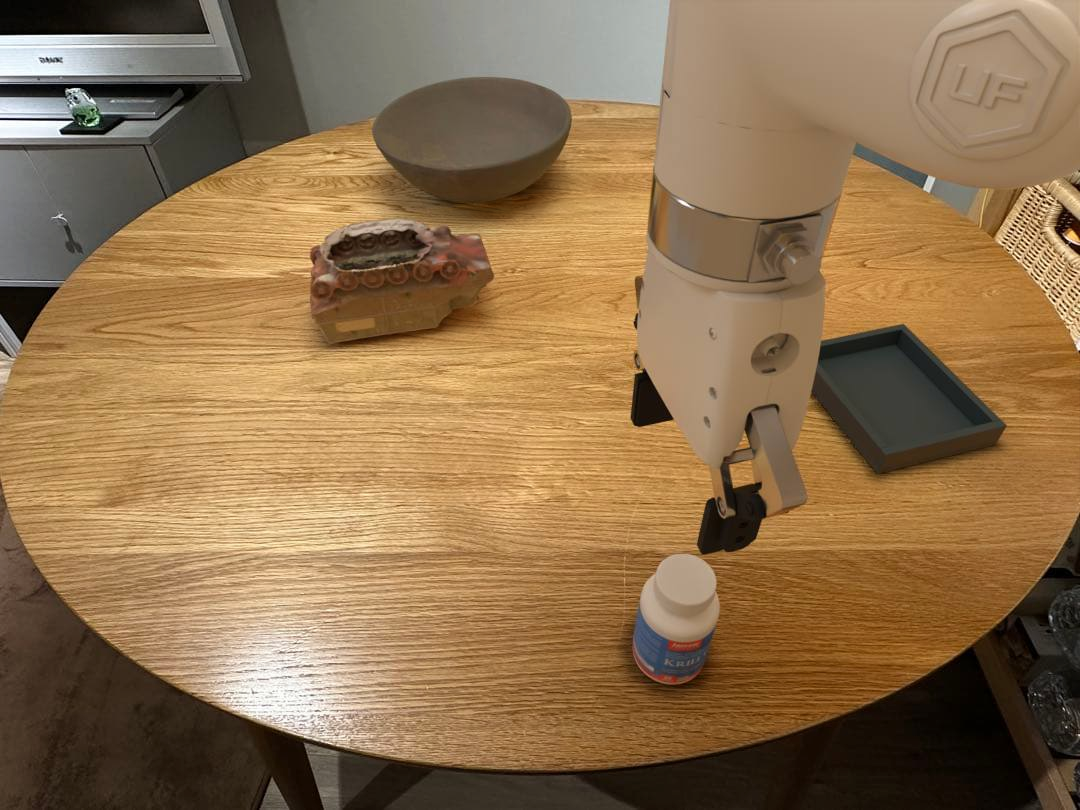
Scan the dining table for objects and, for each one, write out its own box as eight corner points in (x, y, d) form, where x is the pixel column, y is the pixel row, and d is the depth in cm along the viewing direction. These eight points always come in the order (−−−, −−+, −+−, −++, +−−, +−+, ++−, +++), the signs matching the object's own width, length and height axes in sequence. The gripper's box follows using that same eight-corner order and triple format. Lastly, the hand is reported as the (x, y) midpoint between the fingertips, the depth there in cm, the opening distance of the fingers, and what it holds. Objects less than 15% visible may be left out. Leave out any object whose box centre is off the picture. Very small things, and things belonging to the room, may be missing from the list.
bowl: (593, 218, 101) (596, 146, 94) (391, 246, 97) (379, 172, 90) (546, 133, 120) (545, 67, 113) (375, 153, 115) (363, 86, 108)
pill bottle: (660, 700, 55) (676, 630, 48) (617, 640, 58) (626, 566, 51) (721, 664, 56) (744, 591, 50) (676, 607, 60) (692, 532, 53)
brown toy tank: (323, 281, 92) (305, 209, 85) (491, 270, 93) (486, 197, 86) (312, 353, 82) (290, 277, 76) (498, 338, 84) (494, 263, 77)
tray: (995, 444, 72) (1007, 425, 70) (877, 474, 69) (885, 455, 67) (896, 342, 82) (903, 323, 81) (790, 364, 80) (795, 345, 78)
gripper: (947, 319, 27) (825, 586, 39) (729, 116, 39) (687, 369, 51) (754, 359, 26) (689, 624, 38) (588, 136, 38) (579, 391, 50)
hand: (687, 477), depth 44 cm, fingers open, 9 cm apart
